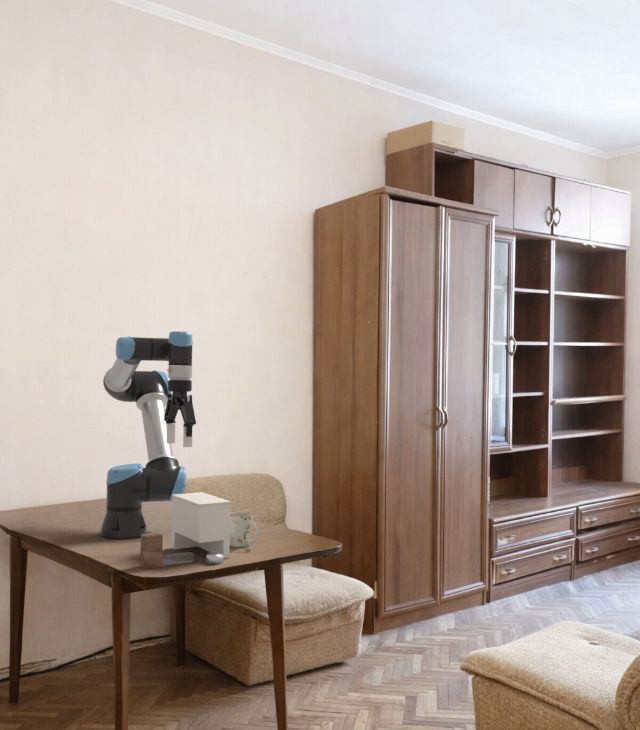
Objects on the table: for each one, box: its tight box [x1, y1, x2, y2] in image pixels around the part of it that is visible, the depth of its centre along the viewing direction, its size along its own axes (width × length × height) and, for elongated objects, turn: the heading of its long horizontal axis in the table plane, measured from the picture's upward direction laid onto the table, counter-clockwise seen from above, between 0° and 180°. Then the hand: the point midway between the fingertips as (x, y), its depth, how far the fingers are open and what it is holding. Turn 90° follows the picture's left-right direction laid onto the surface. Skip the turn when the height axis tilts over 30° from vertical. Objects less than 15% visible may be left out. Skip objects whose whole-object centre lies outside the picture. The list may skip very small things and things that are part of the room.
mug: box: [230, 511, 259, 548], centre depth 251 cm, size 8×13×10 cm, turn 51°
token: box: [205, 552, 224, 566], centre depth 229 cm, size 5×5×2 cm
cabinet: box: [171, 491, 232, 559], centre depth 241 cm, size 20×10×17 cm, turn 34°
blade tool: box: [139, 532, 194, 570], centre depth 227 cm, size 4×15×9 cm, turn 124°
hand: (178, 445), depth 253 cm, fingers open, 13 cm apart
